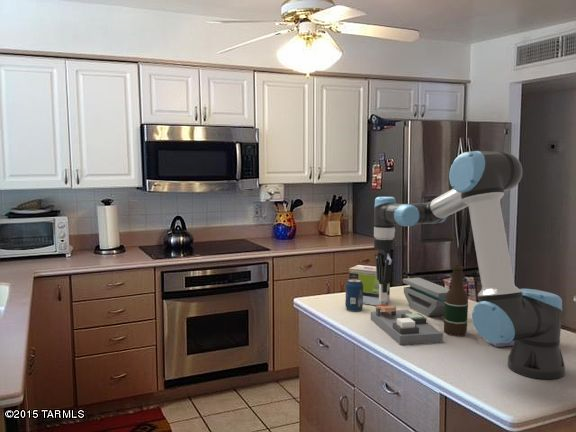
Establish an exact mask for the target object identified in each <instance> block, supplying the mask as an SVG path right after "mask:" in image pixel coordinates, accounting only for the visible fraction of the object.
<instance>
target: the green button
mask: <svg viewBox="0 0 576 432" xmlns="http://www.w3.org/2000/svg"><path fill="white" fill-rule="evenodd" d="M417 313H418V312H416V313H413V312H412V314H405V316H406V317H408V318H410V319H420V318H423V317H424V316H423V315H422V316H423V317H422V316H420V315H421V314H420V313H419V314H420V315H419V314H417Z"/></svg>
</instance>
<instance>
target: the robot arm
mask: <svg viewBox="0 0 576 432" xmlns="http://www.w3.org/2000/svg"><path fill="white" fill-rule="evenodd" d="M448 174H449V175H448V177H449V183H450V185H451V187H452V189H450V190H449V191H446V192H445V193H442V194H440V195H439V196H436V198H434V199H431V200H429V201H428V202H420V203H397V202H396V198H395V197H394V196H377V197H376V198H375V199H374V208H373V209H374V212H373V213H374V219H373V220H374V222H373V225H374V227H373V237H374V239H373V248H374V249H375V250H377V253H376V254H374V259H375V267H376V272H377V280H379V300H380V301H387V290H388V283H390V284H391V279H392V271H393V264H394V259H392V258H391V257H392V254H391V251H392V250H394V249H395V239H394V238H395V232H396V231H397V230H396V229H395V226H401V227H412V226H415V225H427V224H433V225H435V224H441V223H444V222H445V221H446V220H447V218H448V217H449V216H450V215H453V214H455V213H457V212H460V211H461V210H463V209H465V208H467V207H468V212H469V219H470V222H471V230H472V235H473V242H474V247H475V248H474V249H475V253H476V260H477V266H478V267H477V268H478V272H479V273H478V274H479V278H480V284H481V290H480V291H479V292H478V294H477V300H478V302H477V303H476V304H475V305H474V307H473V310H472V312H471V320H472V323H473V326H474V328H475V330H476V332H477V333H478V335H480V336H481V338H482V339H484V340H485V341H487V342H488V343H489V342H491V343H509V342H511V341H515V342H514V345H513V346H512V348H511V351H510V353H509V355H508V357H507V367H508V368H509V369H510V370H511V371H513V372H514V373H516V374H519V375H522V376H525V377H528V378H531V379H540V380H557V379H560V378H563V377H564V376H565V374H566V373H565V372H566V365H565V361H564V357H563V354H562V351H561V348H560V341H561V332H562V331H561V330H562V315H563V313H562V312H563V310H564V309H563V299H562V298H561V296H559V295H558V294H555V293H552V292H549V291H543V290H540V289H535V290H533V289H532V288H519V287H517V286H516V285H515V281H514V274H513V268H512V264H511V263H512V262H511V257H510V252H509V246H508V240H507V234H506V229H505V223H504V222H505V221H504V219H503V211H502V207H501V199H502V198H503V197H504V196H505V193H507V192H508V191H511V190H512V189H514V188H516V186H517V185H519V183H520V182H521V179H522V177H523V166H522V163H521V162H520V160H519V158H517V157H516V156H515V155H514V154H512V153H510V152H506V151H486V150H485V151H484V150H483V151H482V150H481V151H480V150H473V151H465V152H462V153H460V154H459V155H458V156H457V157H456V158H455V159H454V160H453V163H452V164H451V165H450V168H449V173H448Z"/></svg>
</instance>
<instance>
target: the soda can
mask: <svg viewBox="0 0 576 432" xmlns="http://www.w3.org/2000/svg"><path fill="white" fill-rule="evenodd" d="M344 304H345V308H346V310H347V311H349V312H360V311H361V310H362V309H363V307H364V304H363V283H362V280H360V279H349V278H348V279H347V281H346V283H345V303H344Z"/></svg>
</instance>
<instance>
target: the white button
mask: <svg viewBox="0 0 576 432" xmlns="http://www.w3.org/2000/svg"><path fill="white" fill-rule="evenodd" d="M397 325H398V326H400V327H401V328H415V321H413V320H412V319H410V318H397Z"/></svg>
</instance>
